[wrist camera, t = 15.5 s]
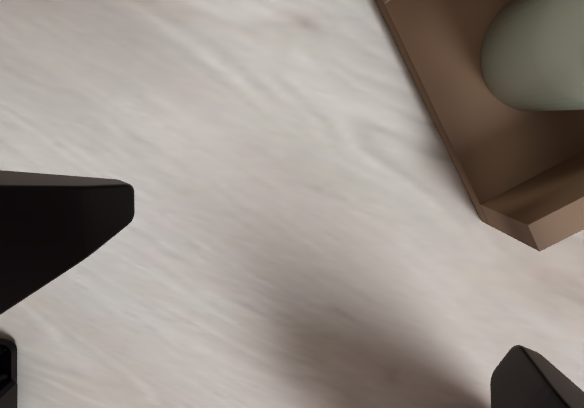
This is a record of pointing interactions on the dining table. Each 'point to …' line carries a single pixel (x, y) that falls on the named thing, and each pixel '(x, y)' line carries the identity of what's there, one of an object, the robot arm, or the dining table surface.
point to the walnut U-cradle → (492, 123)
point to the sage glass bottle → (536, 55)
